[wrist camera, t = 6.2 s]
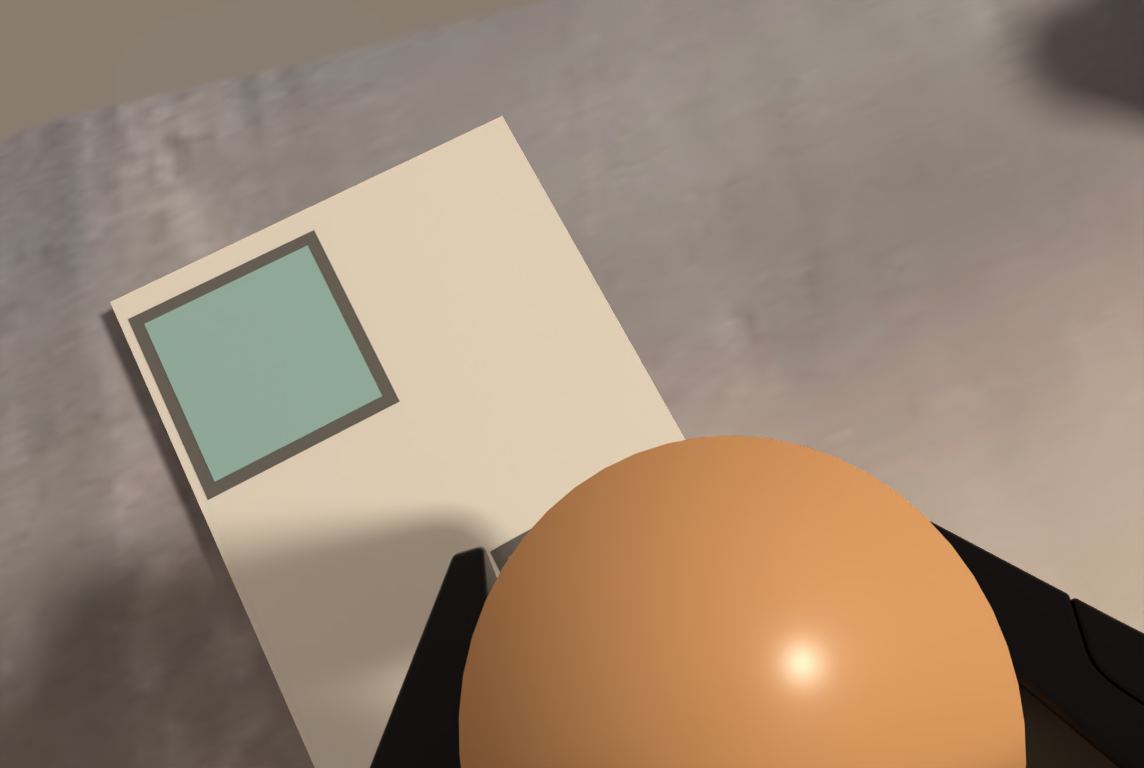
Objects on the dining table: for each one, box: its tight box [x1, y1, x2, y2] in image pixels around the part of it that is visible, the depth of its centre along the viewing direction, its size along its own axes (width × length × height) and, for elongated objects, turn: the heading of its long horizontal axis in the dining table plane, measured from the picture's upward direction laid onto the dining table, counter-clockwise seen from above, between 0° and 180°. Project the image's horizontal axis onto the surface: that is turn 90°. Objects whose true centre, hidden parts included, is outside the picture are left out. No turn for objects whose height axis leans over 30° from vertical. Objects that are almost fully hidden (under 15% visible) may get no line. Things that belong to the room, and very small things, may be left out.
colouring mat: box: [110, 116, 685, 768], centre depth 20 cm, size 14×21×1 cm, turn 28°
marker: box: [459, 436, 1026, 768], centre depth 10 cm, size 4×4×10 cm
